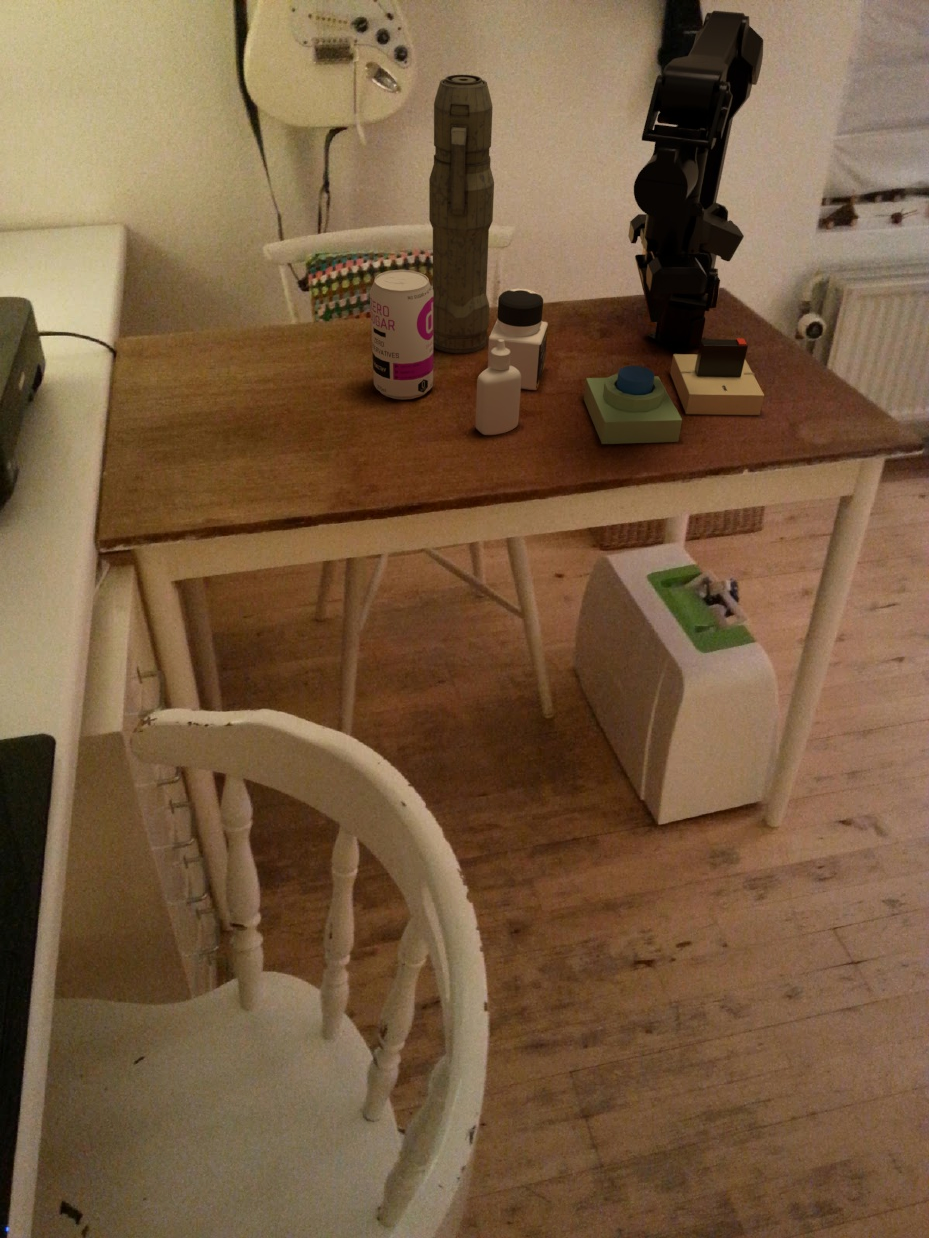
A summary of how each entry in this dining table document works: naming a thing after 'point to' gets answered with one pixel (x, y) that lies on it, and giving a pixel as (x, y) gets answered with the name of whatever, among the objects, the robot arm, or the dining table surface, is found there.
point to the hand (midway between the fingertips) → (654, 321)
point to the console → (715, 390)
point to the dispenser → (631, 413)
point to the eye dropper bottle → (498, 394)
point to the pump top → (635, 380)
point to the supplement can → (402, 333)
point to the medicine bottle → (522, 334)
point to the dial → (721, 357)
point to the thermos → (461, 213)
